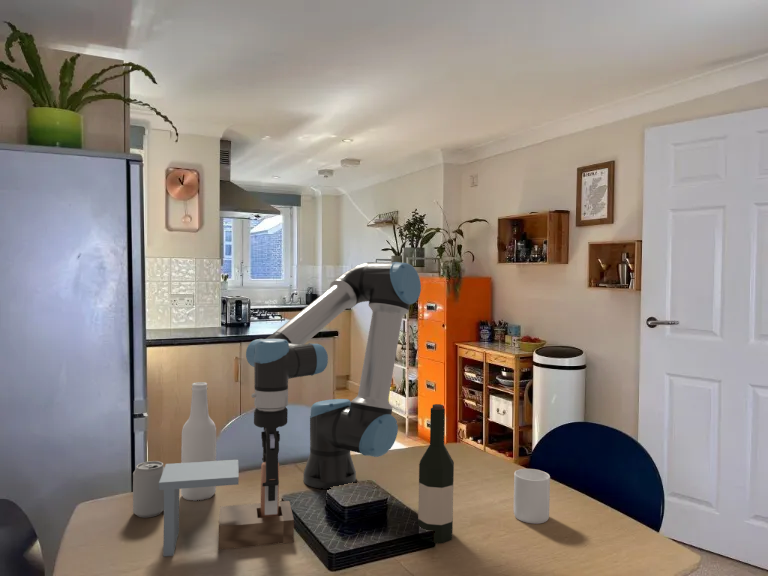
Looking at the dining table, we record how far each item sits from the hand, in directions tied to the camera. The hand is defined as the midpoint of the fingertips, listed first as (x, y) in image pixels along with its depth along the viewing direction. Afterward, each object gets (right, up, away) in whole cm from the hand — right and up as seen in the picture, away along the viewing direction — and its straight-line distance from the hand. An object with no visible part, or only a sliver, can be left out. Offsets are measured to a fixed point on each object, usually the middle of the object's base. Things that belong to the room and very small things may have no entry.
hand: (269, 504), depth 130 cm
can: (-32, -6, +10) cm, 34 cm away
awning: (-15, -7, -4) cm, 16 cm away
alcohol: (-23, -6, +22) cm, 33 cm away
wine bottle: (+38, -8, +1) cm, 39 cm away
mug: (+63, -8, +13) cm, 64 cm away
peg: (0, -7, 0) cm, 7 cm away
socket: (-3, -7, -1) cm, 7 cm away
